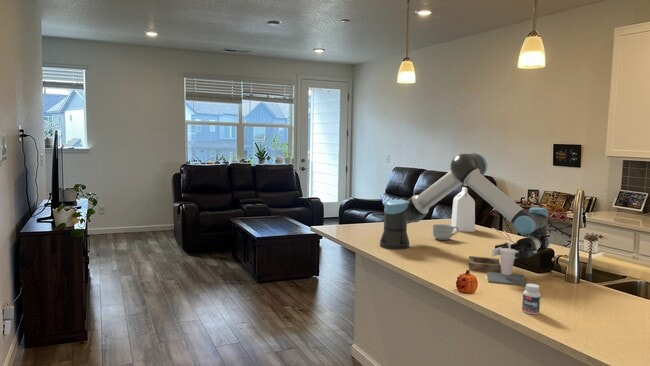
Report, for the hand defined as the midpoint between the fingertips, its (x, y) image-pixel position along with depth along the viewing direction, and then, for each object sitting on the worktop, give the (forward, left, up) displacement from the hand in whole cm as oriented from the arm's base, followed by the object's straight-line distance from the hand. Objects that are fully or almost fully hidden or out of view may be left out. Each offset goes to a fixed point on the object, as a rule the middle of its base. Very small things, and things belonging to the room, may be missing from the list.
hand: (501, 254), depth 187 cm
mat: (+3, +4, -11) cm, 12 cm away
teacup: (-24, +72, -11) cm, 77 cm away
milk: (-15, +107, -11) cm, 109 cm away
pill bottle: (+8, -32, -11) cm, 34 cm away
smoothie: (+3, +4, -9) cm, 10 cm away
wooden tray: (-5, +19, -11) cm, 23 cm away
